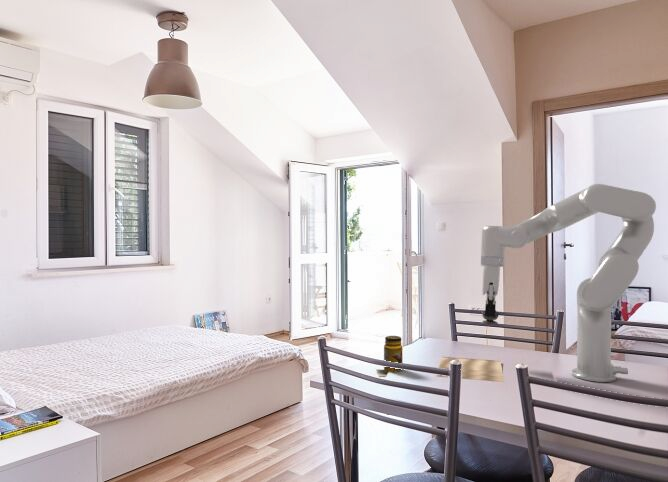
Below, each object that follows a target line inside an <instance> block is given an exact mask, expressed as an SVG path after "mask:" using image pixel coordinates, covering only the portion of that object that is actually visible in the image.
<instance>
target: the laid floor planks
mask: <svg viewBox="0 0 668 482" xmlns="http://www.w3.org/2000/svg"><path fill="white" fill-rule="evenodd" d="M445 369H448V368H445ZM435 376H436V377H438V378H439V377H441V378H449V377H448V376H442V375H437V374H436V375H435ZM461 379H464V380H477V381H489V382H500V383H504V376H503V372H502V373H499V372H486V371H474V370H462V378H461Z"/></svg>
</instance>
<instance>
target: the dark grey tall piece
mask: <svg viewBox="0 0 668 482" xmlns="http://www.w3.org/2000/svg"><path fill="white" fill-rule="evenodd" d="M488 295H489V294H488ZM493 295H494V294H493ZM493 298H494V297H493ZM485 303H486V300H485ZM495 303H497V301H496V300H495ZM481 314H482V318H483V319H484V320H483V321H481V323H482V324H485V325H492V326H495V325H498V324H499V322H497V321H496V320H498V318H499V315H500V312H498V311H497V310H496V308H495V316H486V315H485V310H481Z"/></svg>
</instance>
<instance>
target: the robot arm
mask: <svg viewBox="0 0 668 482" xmlns="http://www.w3.org/2000/svg"><path fill="white" fill-rule="evenodd" d="M656 208H657V204H656V201H655V199H654V198H653V197H652V196H651V195H649V194H648V193H646V192H642V191H636V190H632V189H627V188H621V187H617V186H614V185H613V186H612V185H608V184H603V183H594V184H591V185H589V186H588V187H586V188H584V189H582V190H580V191H578V192H576V193H574V194H571V195H570V196H568V197H566V198H564V199H562V200H560V201H558V202H556V203H554V204H552V205H550V206H548V207H546V208H545V209H544V210H543V211H541V212H539V213H538V214H535V215H534V216H532V217H530V218H528V219H526V220H524V221H522V222H520V223H519V224H516V225H512V226H502V225H485V226H483V227H482V229H481V245H480V246H481V248H480V249H481V251H480V267H483V273H482V293H481V294H482V296H485V295H486V300H485V301H486V302H485V309H484V311H485V315H486V316H495V309H496V308H497V307H496V305H497V304H496V303H497V302H496V303H495V301H496V297H497V296H498V292H499V287H500V274H501V273H500V272H501V268H504V267H505V266H504V265H505V247H507V248H512V249H521V248H522V249H523V248H524V247H525V246H526V245H528V244H530V243H533V242H534V241H536V240H538V239H541V238H543V237H545V236H547V235H549V234H553V233H556V232H560V231H562V230H563V229H566V228H568V227H570V226H572V225H575V224H576V223H579V222H581V221H583V220H585V219H587V218H589V217H591V216H594V215H596V214H597V213H602V214H605V215H609V216H615V217H619V218H621V219H622V228H621V230H620V231H619V233H618V235H617V236H616V238H615V240H613V242H612V243H611V244H610V246H609V247H608V248H607V250H606V251H605V252H604V253H603V255H602V256H601V257H600V259H599V262H598V268H597V270H595V273H593V275H592V276H591V277H588V278H586V279H584V280H582V281H581V282H580V283H579V285H578V287H577V290H576V305H577V310H576V311H577V327H576V328H577V330H576V331H577V334H576V335H577V339H576V340H577V342H576V343H577V344H576V347H577V348H576V349H577V350H576V352H577V353H576V355H577V356H576V368H573V369H572V370H571V375H572V376H573V377H575V378H577V379H580V380H584V381H589V382H597V383H609V382H615V381H616V380H617V374H620V375H628V374H629V368H627V367H622V366H618V365H617V366H615V365H614V364H612V363H611V362H612V361H611V360H612V358H611V357H612V309H611V308H613V307H614V306H615V304H617V303H618V301H619V300H620V298H621V297H622V296H623V294H625V292H626V291H627V289H628V288H629V287H630V285H631V284H632V283H633V281H634V280H635V278H636V276H637V275H638V272H639V268H640V267H639V259H641V256H642V255H643V253H644V252H645V250H646V249H647V248H648V246H649V244H650V242H651V241H652V238H653V236H654V232H655V222H654V221H655V220H654V217H653V215H654V213H655V212H656V210H657V209H656ZM488 294H489V295H488ZM493 294H494V295H493ZM493 297H494V298H493Z"/></svg>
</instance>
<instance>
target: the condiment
mask: <svg viewBox="0 0 668 482" xmlns="http://www.w3.org/2000/svg"><path fill="white" fill-rule="evenodd" d="M384 339H385V341H384V345H383V361H384V360H386V361H391V362H398V363H402V364H403V345H402V337H401V336H397V335H387V336H385V338H384ZM375 370H376V373H377V375H378V377H387V376H388V374H389V373H400V372H402V371H403V369H402V370H401V369H395V368H390V367H384V366H383V369H375Z"/></svg>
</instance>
